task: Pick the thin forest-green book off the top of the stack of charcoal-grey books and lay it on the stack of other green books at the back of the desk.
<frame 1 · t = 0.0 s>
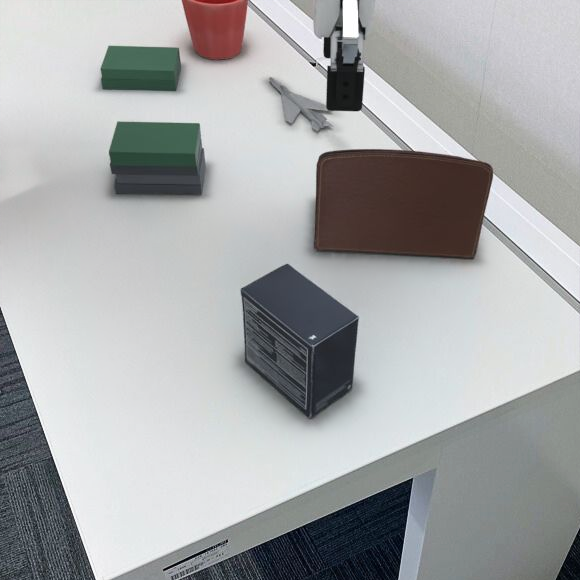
hand: (341, 82, 72), 25 cm above the table, tool pointing down, fingers open, 9 cm apart
toy airplane: (303, 113, 115), on the table
flower pot: (218, 50, 127), on the table
grey book stack: (161, 180, 102), on the table
green book: (157, 150, 99), point 4 cm above the table, touching grey book stack
green book stack: (142, 77, 120), on the table
letter holder: (393, 231, 97), on the table
small box: (299, 375, 80), on the table
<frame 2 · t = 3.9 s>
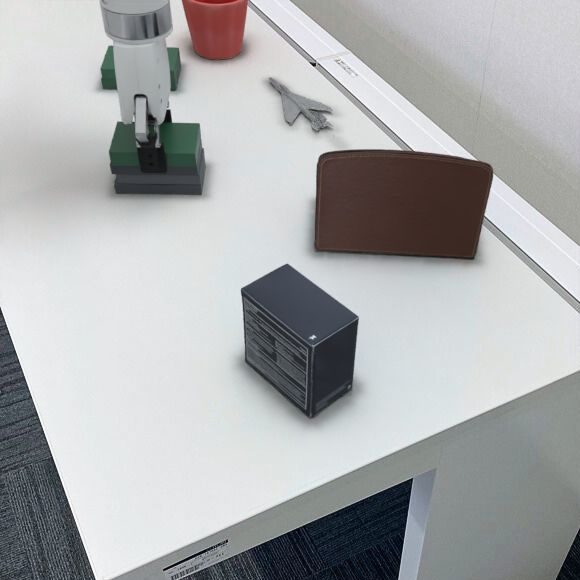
hand: (157, 153, 99), 4 cm above the table, tool pointing down, fingers closed on green book, 7 cm apart
green book: (157, 150, 99), point 5 cm above the table, touching grey book stack, gripper
everything else where it was.
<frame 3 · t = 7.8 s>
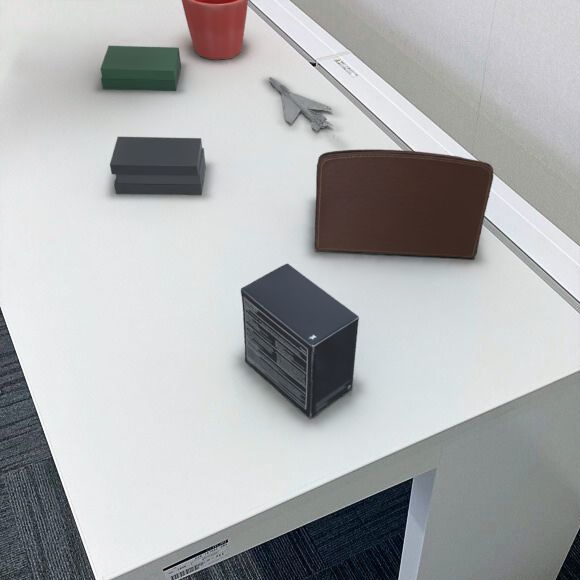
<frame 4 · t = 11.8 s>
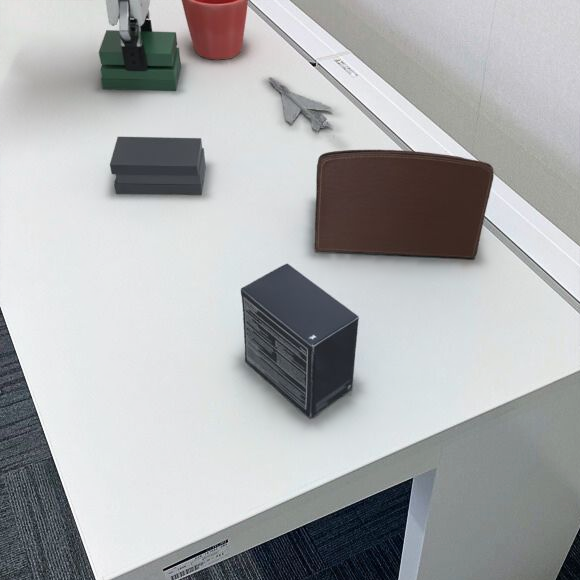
hand: (140, 56, 117), 3 cm above the table, tool pointing down, fingers closed on green book, 7 cm apart
green book: (140, 54, 117), point 4 cm above the table, touching gripper
everything else where it was.
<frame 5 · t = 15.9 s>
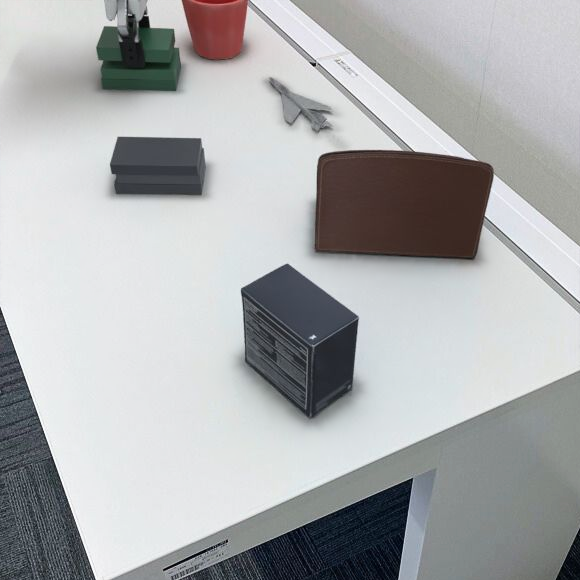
hand: (137, 52, 117), 4 cm above the table, tool pointing down, fingers closed on green book, 7 cm apart
green book: (137, 50, 116), point 4 cm above the table, touching gripper
everything else where it was.
when the fingers open (4 cm above the table, at t = 19.6 s): green book drops 1 cm, resting on green book stack.
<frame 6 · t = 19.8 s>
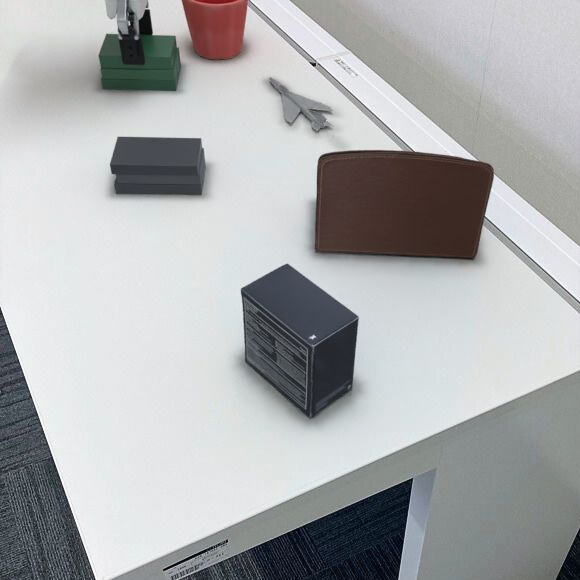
hand: (138, 48, 116), 5 cm above the table, tool pointing down, fingers open, 8 cm apart
green book: (139, 57, 117), point 3 cm above the table, touching green book stack
everything else where it was.
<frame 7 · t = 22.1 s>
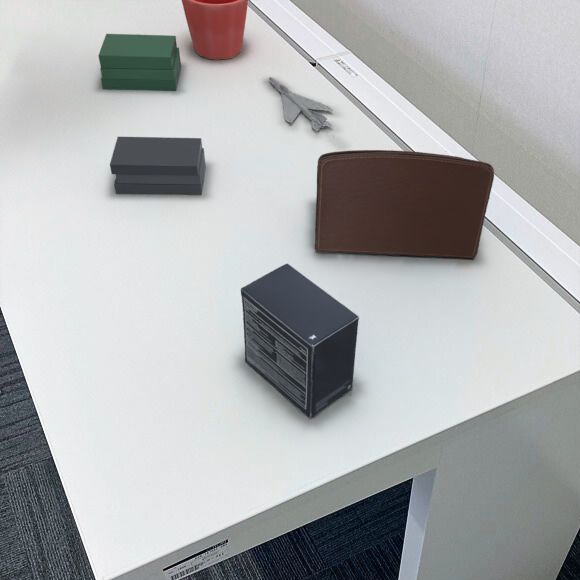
nothing on the table moved.
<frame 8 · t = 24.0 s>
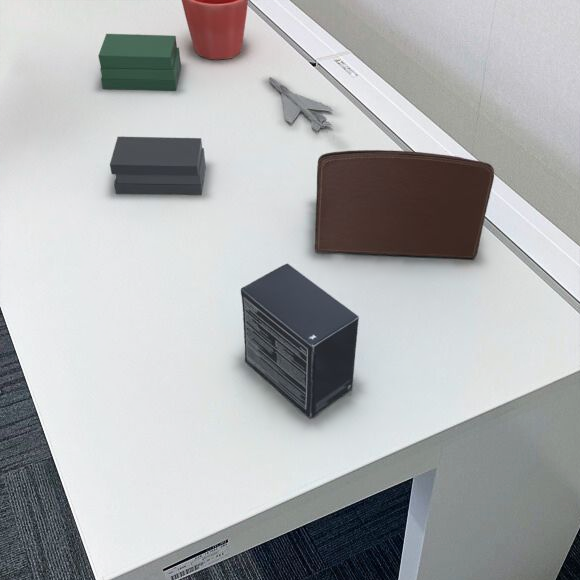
nothing on the table moved.
at the end: green book 0.0 cm off-centre on the green book stack, point 3.2 cm above the green book stack's base; green book tilted 0°; the gripper is holding nothing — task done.
